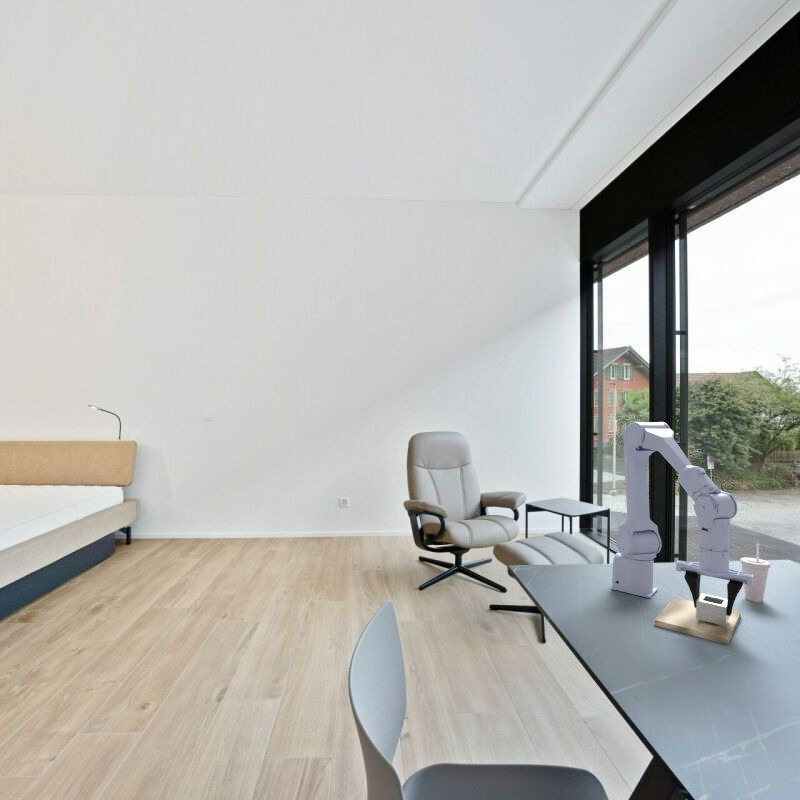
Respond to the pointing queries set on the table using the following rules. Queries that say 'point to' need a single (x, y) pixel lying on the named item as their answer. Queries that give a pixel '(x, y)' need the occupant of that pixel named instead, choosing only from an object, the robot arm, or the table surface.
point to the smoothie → (755, 576)
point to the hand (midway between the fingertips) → (712, 610)
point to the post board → (695, 622)
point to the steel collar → (712, 609)
